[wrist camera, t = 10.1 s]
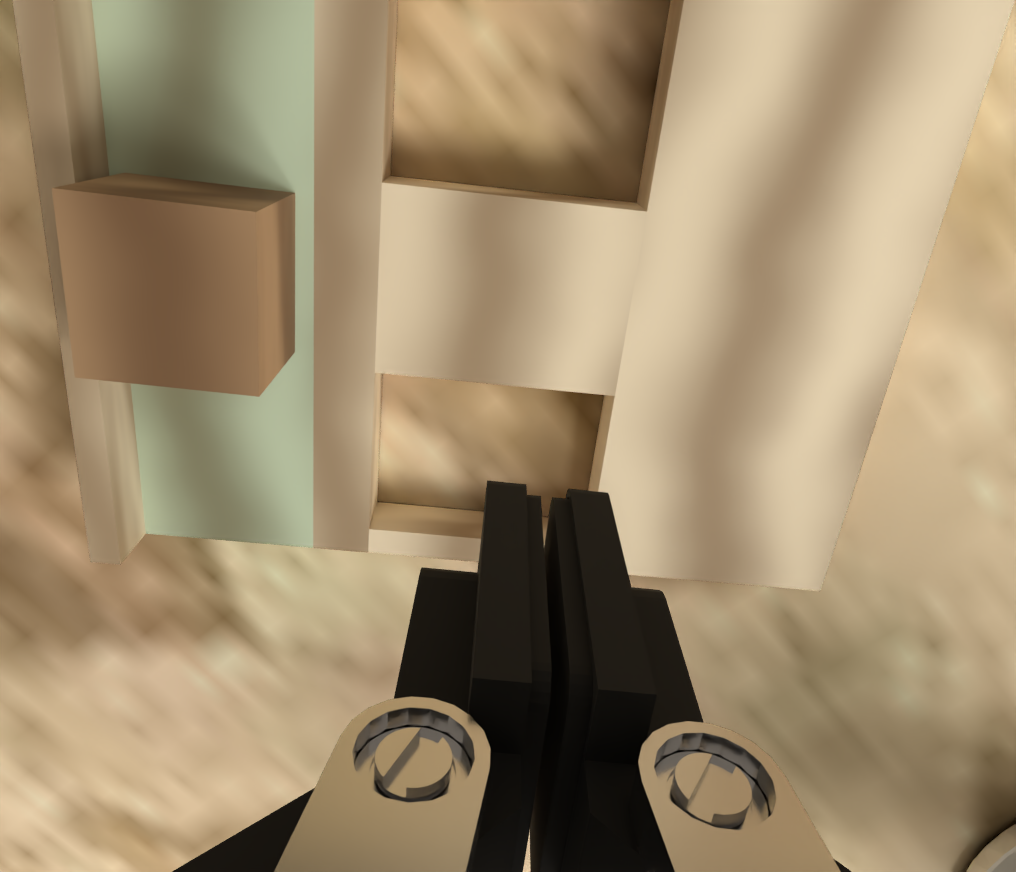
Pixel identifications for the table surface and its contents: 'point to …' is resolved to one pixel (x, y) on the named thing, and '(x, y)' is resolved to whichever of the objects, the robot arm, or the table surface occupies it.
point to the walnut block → (178, 281)
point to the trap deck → (528, 269)
